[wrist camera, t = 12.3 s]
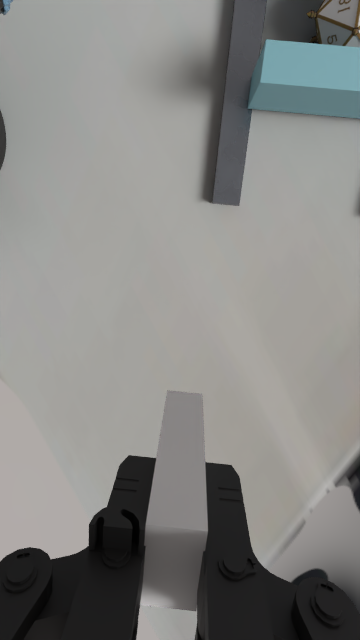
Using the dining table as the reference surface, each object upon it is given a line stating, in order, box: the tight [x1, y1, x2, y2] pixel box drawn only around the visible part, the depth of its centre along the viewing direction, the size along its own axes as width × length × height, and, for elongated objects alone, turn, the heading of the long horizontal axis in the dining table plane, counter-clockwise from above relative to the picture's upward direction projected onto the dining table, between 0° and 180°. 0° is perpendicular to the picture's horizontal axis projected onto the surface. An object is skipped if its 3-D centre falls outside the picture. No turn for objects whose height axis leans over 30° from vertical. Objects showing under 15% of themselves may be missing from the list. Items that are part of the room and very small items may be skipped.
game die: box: [307, 0, 360, 47], centre depth 31 cm, size 9×8×10 cm
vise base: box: [212, 0, 267, 206], centre depth 33 cm, size 21×24×6 cm
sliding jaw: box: [248, 39, 360, 119], centre depth 31 cm, size 16×3×7 cm, turn 85°
